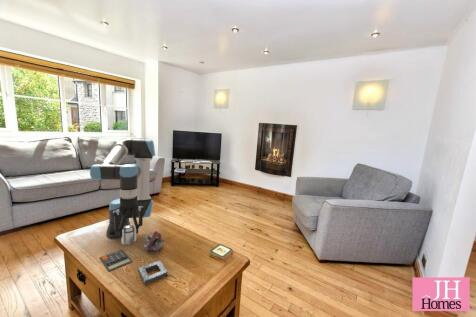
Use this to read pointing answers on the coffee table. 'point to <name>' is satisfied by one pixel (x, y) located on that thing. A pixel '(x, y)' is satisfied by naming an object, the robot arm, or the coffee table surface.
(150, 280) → the bore plate
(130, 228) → the piston
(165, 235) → the coffee table surface
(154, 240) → the brake caliper
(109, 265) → the calculator
